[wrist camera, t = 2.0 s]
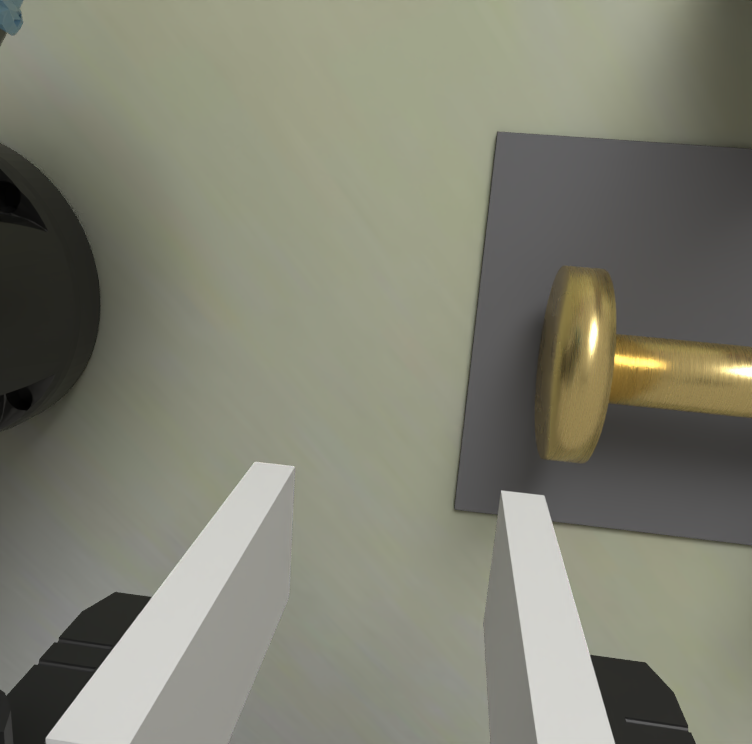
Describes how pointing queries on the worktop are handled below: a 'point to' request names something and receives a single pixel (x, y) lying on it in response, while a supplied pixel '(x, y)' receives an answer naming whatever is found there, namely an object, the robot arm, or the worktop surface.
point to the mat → (633, 317)
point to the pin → (621, 369)
